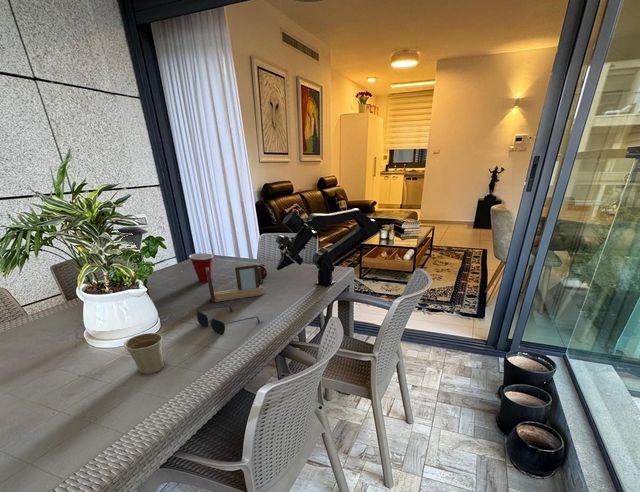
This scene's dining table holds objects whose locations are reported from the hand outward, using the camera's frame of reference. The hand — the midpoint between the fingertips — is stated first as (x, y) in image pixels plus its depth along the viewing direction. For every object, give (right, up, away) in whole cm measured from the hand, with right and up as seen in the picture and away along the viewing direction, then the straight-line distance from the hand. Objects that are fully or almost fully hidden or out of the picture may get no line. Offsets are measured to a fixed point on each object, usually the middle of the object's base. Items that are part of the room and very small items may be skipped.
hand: (277, 269), depth 148 cm
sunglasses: (-14, -24, -25) cm, 38 cm away
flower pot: (-29, -39, -51) cm, 70 cm away
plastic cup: (-37, -1, +21) cm, 42 cm away
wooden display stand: (-16, -11, -1) cm, 20 cm away
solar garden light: (-49, -17, -9) cm, 53 cm away
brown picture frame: (-11, -9, 0) cm, 15 cm away
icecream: (-10, 0, +20) cm, 22 cm away
